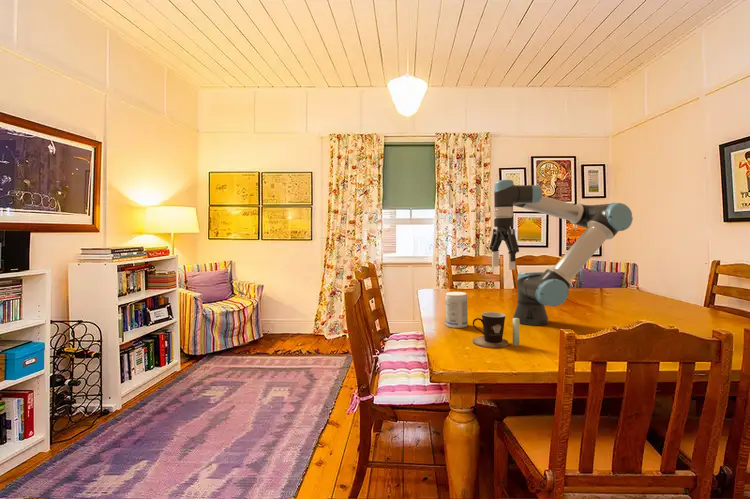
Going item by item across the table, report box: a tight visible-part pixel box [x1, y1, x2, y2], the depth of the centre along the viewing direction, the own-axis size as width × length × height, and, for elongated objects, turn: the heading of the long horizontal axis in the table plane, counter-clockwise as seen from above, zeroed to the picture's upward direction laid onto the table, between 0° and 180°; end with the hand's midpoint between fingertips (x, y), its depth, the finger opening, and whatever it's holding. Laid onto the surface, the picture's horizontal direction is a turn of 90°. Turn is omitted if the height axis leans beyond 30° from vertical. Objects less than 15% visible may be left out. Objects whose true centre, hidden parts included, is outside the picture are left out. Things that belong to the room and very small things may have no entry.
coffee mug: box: [472, 311, 506, 343], centre depth 147 cm, size 12×9×10 cm
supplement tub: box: [445, 291, 469, 329], centre depth 172 cm, size 10×10×15 cm
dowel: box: [512, 317, 521, 347], centre depth 143 cm, size 2×2×10 cm
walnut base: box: [472, 335, 509, 349], centre depth 146 cm, size 13×13×1 cm
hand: (503, 268), depth 163 cm, fingers open, 13 cm apart
